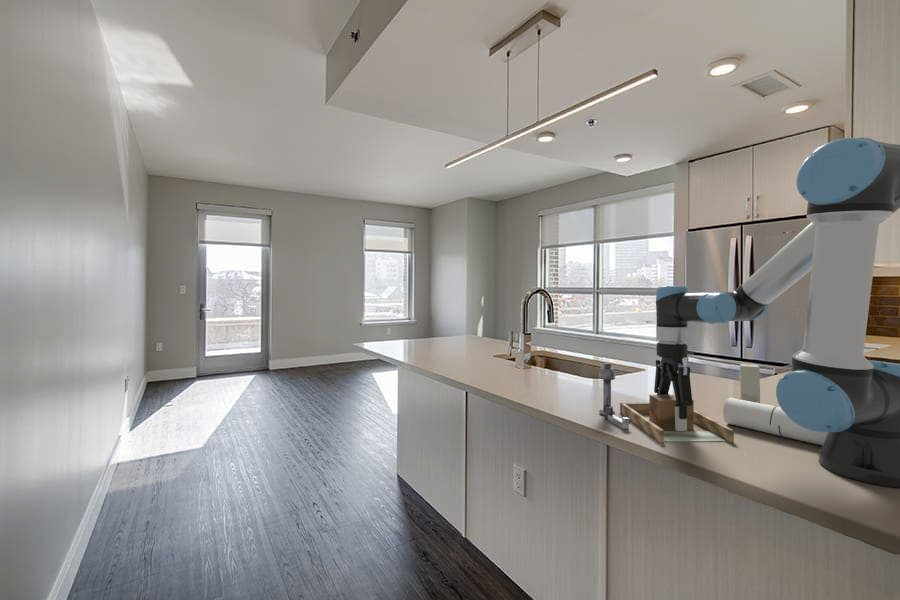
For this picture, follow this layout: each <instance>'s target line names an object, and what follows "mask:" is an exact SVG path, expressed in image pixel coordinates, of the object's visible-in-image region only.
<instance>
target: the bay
mask: <svg viewBox="0 0 900 600" xmlns="http://www.w3.org/2000/svg"><path fill="white" fill-rule="evenodd" d="M619 405H620V406H619V412H620V414H621V415H623V417H628V418H630V422H632V423H633V424H635V425H636V426H637V427H639V428H640V429H641V430H642V431H644V432H645V433H646V434H648V435H649V436H650V437H652V438H654V439H655V440H656V441H657V442H658V443H660V444H661V443H666V442H667V443H668V442H669V443H675V442H677V443H679V442H680V443H683V442H684V443H685V442H686V443H687V442H688V443H691V442H692V443H694V442H695V443H698V442H703V443H704V442H706V443H707V442H710V443H714V442H716V443H717V442H718V443H719V442H721V443H722V442H724V443H725V442H727V443H735V441H734V439H735V430H734V429H732V428H730V427H728V426H727V425H725V424H723V423H721V422H718V421H717V420H715V419H713V418H711V417H709V416H707V415H705V414H703V413H701V412H699V411H698V410H695V409H694V422H693V423H694V424H696V425H698V426H700V427H702V428H704V429H706V430H687V431H676V430H675V431H674V430H672V431H671V430H666V431H665V430H663V429H661V428H660V427H658V426H657V425H655V424H654V423H652V422H651V421H649V419H648V418H647V417H645V416H643V415H642V414H646V415H648V414H649V402H619Z"/></svg>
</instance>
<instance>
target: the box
mask: <svg viewBox="0 0 900 600" xmlns="http://www.w3.org/2000/svg"><path fill="white" fill-rule="evenodd" d="M760 373H761V371H760V365H758V364H748V363H747V364H746V363H740V364H739V387H740V388H739V389H740V390H739V393H740V394H739V396H740V400H745V401H750V402H756V403H761V384H760V383H761V381H760V380H761V379H760V378H761V377H760Z"/></svg>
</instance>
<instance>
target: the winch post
mask: <svg viewBox="0 0 900 600" xmlns="http://www.w3.org/2000/svg"><path fill="white" fill-rule="evenodd" d="M598 371H599V379H600V380H602V381H603V382H602V384H603V385H602V387H603V388H602V392H603V394H602V395H603V397H602V401H603V402H602V403H603V404H602V409H600V410H599V412H598V413H599V415H600V416H603V417H606V406H611V407H612V381H614V380H616V368H614V367H612V363H611V362H603V366H602V367H599V370H598ZM613 415H615V416H616V411H614V410H613Z"/></svg>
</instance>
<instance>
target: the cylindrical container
mask: <svg viewBox="0 0 900 600" xmlns="http://www.w3.org/2000/svg"><path fill="white" fill-rule="evenodd" d="M722 414H723V419H724V422H725V423H726V424H728V425H732V426H735V427H741V428H745V429H750V430H753V431H758V432H761V433H767V434H771V435H774V436H778V437H783V438H787V439H792V440H797V441H800V442H804V443H805V442H806V443H809V444H814V445H818V446H821V447H823V444H824V442H825V439H826V436H827V434H828V432H816V431H811V430H808V429H806V428H803V427H801V426H799V425H798V424H796V423H795V422H793V421H792V420H791V419H790V418H789V417H788V416H787V414H786V413H785V412H784V411H783V410H782V409H781V407H780V406H777V405H772V404H771V405H770V404H765V403H761V402H760V403H756V402H750V401H745V400H740V399H739V398H733V397H728V398H727V399H726V400H725V403H724V405H723V411H722Z"/></svg>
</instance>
